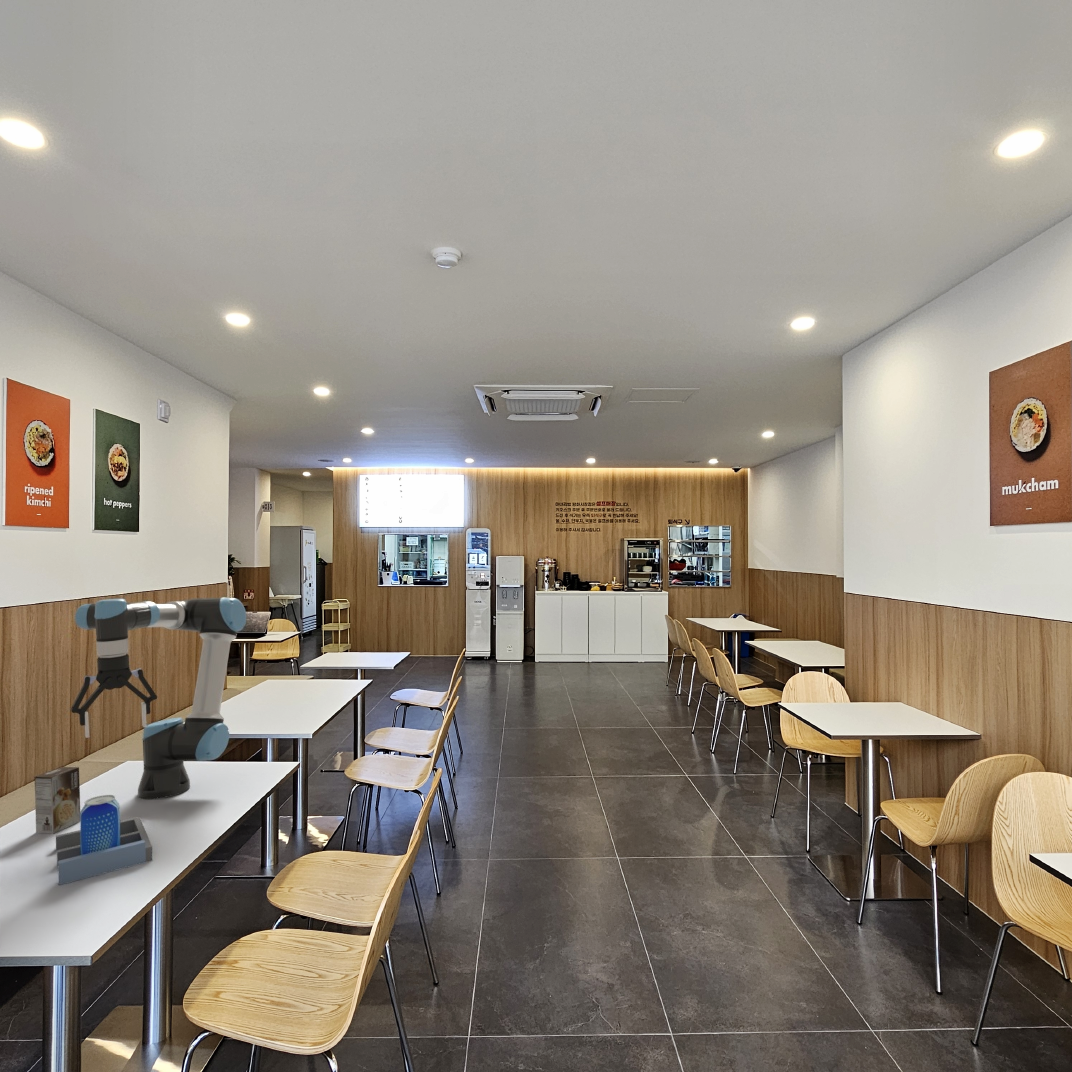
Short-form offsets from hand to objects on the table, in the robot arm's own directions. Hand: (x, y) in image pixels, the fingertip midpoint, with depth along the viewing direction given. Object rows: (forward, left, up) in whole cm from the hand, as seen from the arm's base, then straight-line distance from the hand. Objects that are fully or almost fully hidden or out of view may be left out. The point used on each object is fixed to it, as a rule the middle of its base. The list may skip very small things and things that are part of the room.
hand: (116, 731), depth 188 cm
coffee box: (+13, -21, -30) cm, 39 cm away
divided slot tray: (+5, +10, -29) cm, 31 cm away
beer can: (+5, +15, -30) cm, 34 cm away
